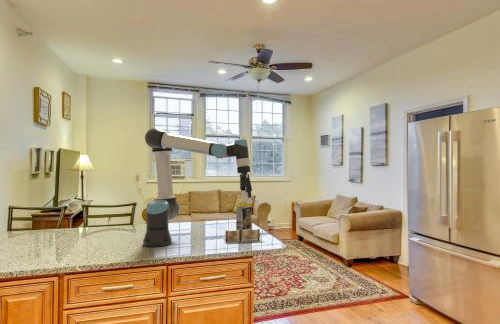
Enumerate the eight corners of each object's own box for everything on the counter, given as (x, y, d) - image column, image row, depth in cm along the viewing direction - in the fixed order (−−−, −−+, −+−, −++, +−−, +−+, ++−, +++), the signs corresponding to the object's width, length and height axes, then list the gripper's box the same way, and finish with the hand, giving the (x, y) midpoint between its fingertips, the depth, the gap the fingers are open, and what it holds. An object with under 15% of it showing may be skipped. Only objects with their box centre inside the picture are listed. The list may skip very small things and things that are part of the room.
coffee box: (243, 233, 200) (243, 208, 201) (235, 232, 204) (235, 207, 204) (252, 231, 208) (252, 206, 208) (244, 230, 212) (244, 205, 212)
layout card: (225, 243, 176) (225, 242, 176) (221, 236, 192) (221, 235, 192) (260, 241, 180) (260, 240, 180) (253, 235, 196) (253, 234, 196)
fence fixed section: (225, 241, 178) (225, 230, 178) (225, 241, 180) (225, 230, 180) (242, 240, 180) (242, 229, 181) (241, 240, 182) (241, 229, 182)
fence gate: (242, 240, 181) (242, 230, 181) (242, 239, 182) (242, 229, 182) (259, 239, 183) (260, 229, 183) (259, 238, 184) (259, 228, 184)
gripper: (254, 164, 172) (259, 203, 171) (244, 165, 196) (248, 200, 196) (241, 166, 170) (245, 205, 170) (233, 167, 194) (236, 201, 194)
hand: (247, 202), depth 183 cm, fingers open, 13 cm apart
